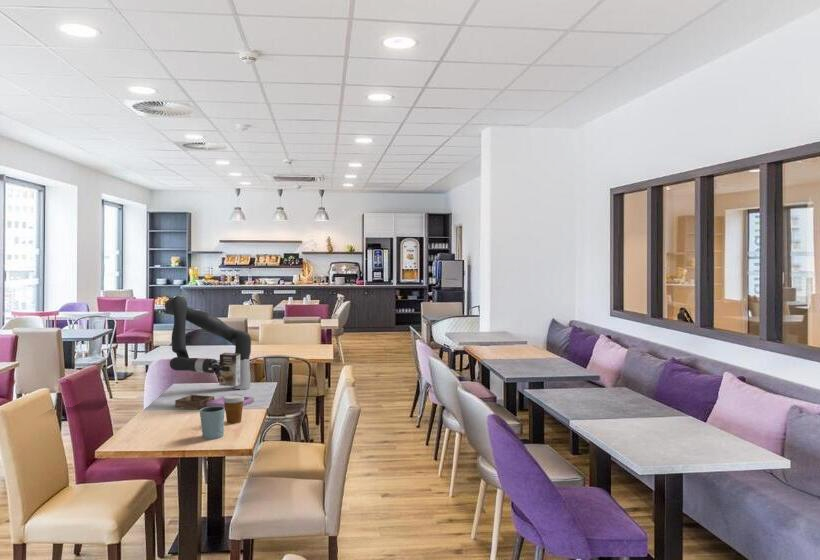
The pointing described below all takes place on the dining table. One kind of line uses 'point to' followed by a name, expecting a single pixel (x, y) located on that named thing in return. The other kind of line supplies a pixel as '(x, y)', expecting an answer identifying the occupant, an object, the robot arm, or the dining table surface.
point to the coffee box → (230, 369)
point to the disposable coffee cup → (233, 408)
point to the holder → (193, 401)
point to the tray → (221, 403)
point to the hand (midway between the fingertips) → (233, 367)
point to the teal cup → (212, 422)
